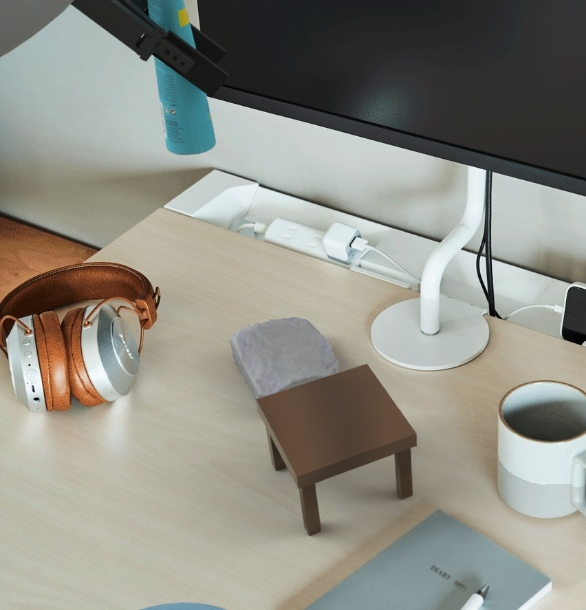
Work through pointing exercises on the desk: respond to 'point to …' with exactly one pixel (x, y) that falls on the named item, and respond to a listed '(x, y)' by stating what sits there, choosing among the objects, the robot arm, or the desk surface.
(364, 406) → the stool
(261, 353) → the stone block
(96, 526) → the desk surface
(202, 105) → the tube
